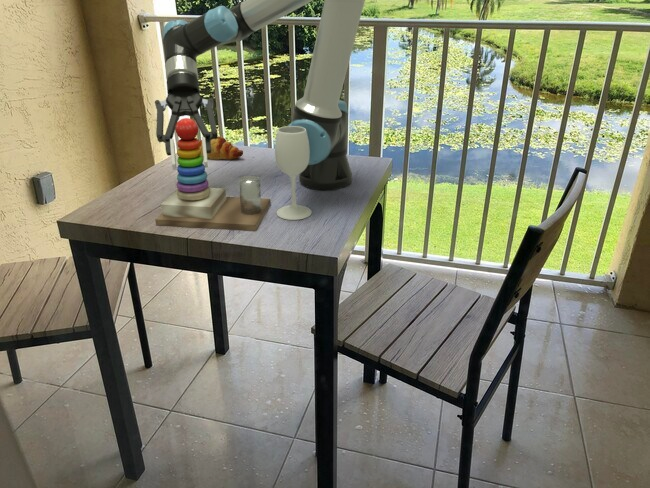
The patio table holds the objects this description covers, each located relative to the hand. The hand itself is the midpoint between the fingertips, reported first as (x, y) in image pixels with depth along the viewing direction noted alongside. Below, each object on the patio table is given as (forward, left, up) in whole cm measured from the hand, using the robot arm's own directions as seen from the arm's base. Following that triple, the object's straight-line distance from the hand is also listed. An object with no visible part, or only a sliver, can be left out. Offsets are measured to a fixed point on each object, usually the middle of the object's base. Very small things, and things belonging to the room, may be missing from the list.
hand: (190, 165), depth 117 cm
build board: (-4, -3, -13) cm, 14 cm away
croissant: (+11, -50, -14) cm, 53 cm away
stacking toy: (+1, -3, -9) cm, 10 cm away
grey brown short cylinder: (-13, -3, -12) cm, 18 cm away
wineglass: (-23, -6, -14) cm, 27 cm away
